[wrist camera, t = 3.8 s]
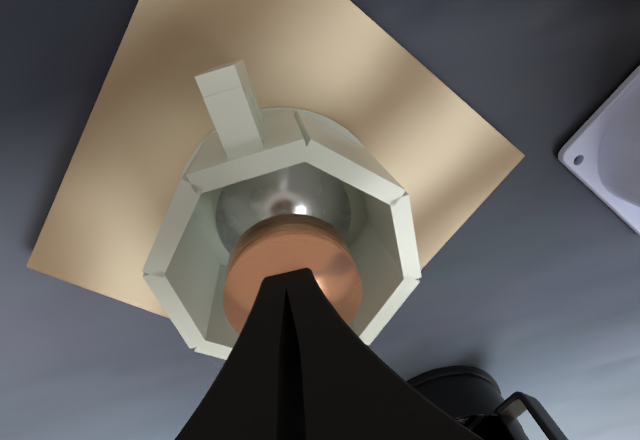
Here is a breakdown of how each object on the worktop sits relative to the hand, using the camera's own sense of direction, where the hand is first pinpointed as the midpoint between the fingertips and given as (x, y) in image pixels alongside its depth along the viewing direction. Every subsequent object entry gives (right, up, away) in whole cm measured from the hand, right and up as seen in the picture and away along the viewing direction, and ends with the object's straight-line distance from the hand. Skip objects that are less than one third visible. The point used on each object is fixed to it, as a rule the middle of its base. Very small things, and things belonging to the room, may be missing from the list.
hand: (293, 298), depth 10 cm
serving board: (-1, +3, +6) cm, 7 cm away
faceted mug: (-1, +3, +5) cm, 6 cm away
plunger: (-1, +3, +5) cm, 5 cm away
